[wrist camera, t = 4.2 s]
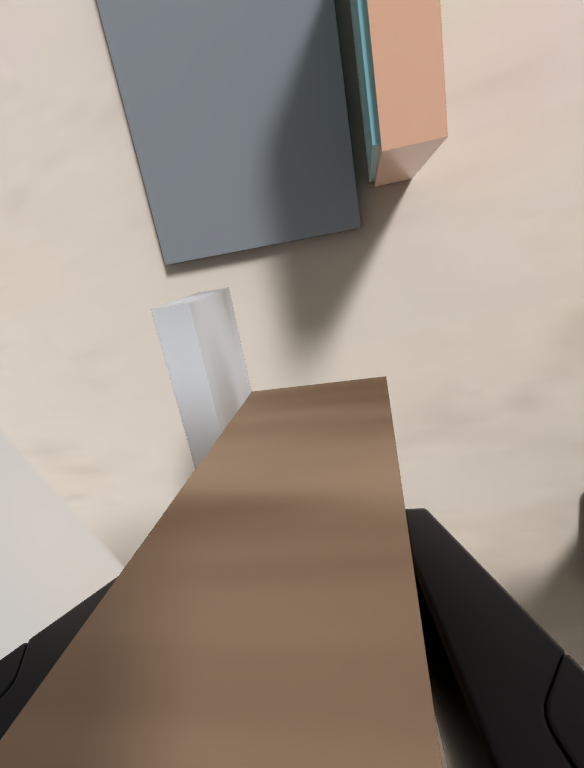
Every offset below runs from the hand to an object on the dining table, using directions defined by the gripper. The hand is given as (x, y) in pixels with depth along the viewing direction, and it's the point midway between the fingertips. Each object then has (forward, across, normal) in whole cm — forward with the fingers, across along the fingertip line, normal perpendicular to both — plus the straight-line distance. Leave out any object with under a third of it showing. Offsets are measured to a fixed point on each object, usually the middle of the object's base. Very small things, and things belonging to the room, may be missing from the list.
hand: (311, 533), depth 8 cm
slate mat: (+13, +3, -11) cm, 17 cm away
